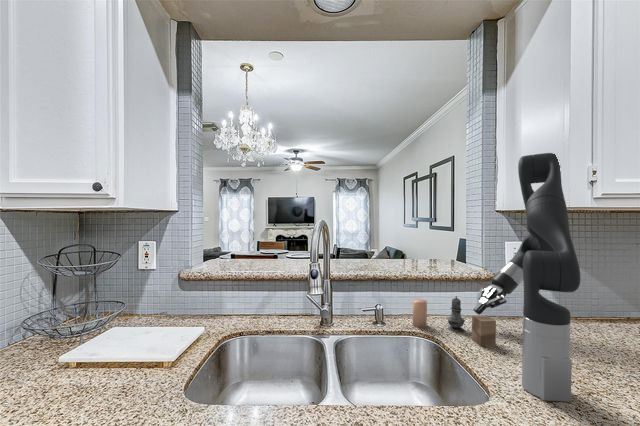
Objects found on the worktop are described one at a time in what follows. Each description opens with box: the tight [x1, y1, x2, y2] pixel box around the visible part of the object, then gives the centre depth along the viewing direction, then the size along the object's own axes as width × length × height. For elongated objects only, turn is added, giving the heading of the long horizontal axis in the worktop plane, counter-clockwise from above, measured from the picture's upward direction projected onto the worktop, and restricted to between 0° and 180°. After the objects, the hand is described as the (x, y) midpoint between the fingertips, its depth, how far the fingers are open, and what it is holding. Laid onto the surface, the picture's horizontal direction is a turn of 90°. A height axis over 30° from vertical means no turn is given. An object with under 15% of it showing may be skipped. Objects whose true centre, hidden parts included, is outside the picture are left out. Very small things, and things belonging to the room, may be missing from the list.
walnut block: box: [471, 314, 497, 347], centre depth 105 cm, size 5×5×8 cm
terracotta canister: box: [412, 298, 428, 329], centre depth 120 cm, size 5×5×9 cm
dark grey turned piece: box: [447, 295, 466, 333], centre depth 116 cm, size 6×6×12 cm
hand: (476, 312), depth 117 cm, fingers closed
